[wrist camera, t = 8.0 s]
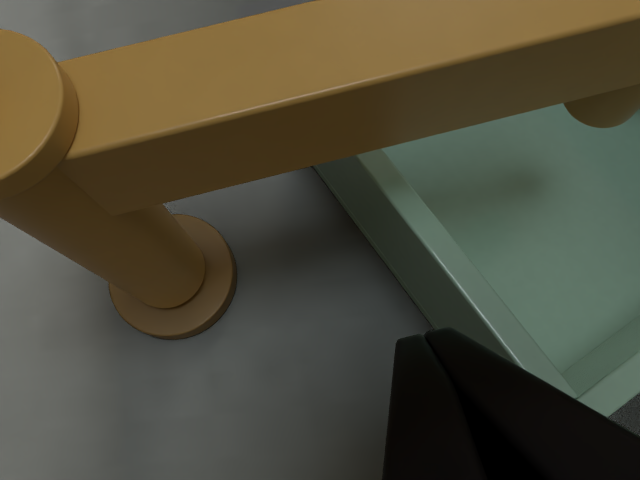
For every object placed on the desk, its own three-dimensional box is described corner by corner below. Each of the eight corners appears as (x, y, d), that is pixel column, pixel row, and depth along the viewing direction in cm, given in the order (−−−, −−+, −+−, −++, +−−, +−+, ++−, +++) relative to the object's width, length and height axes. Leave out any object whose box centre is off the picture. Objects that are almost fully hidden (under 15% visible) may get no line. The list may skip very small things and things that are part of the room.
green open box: (775, 238, 19) (919, 176, 14) (514, 436, 18) (577, 442, 13) (534, -8, 22) (586, -125, 17) (295, 144, 21) (281, 61, 16)
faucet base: (260, 293, 19) (256, 288, 18) (154, 364, 19) (146, 362, 18) (197, 199, 20) (192, 190, 19) (95, 264, 20) (85, 257, 19)
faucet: (68, 339, 18) (-309, 227, 8) (58, 256, 19) (-296, 52, 8) (577, 208, 18) (872, -62, 8) (546, 133, 19) (780, -200, 9)
